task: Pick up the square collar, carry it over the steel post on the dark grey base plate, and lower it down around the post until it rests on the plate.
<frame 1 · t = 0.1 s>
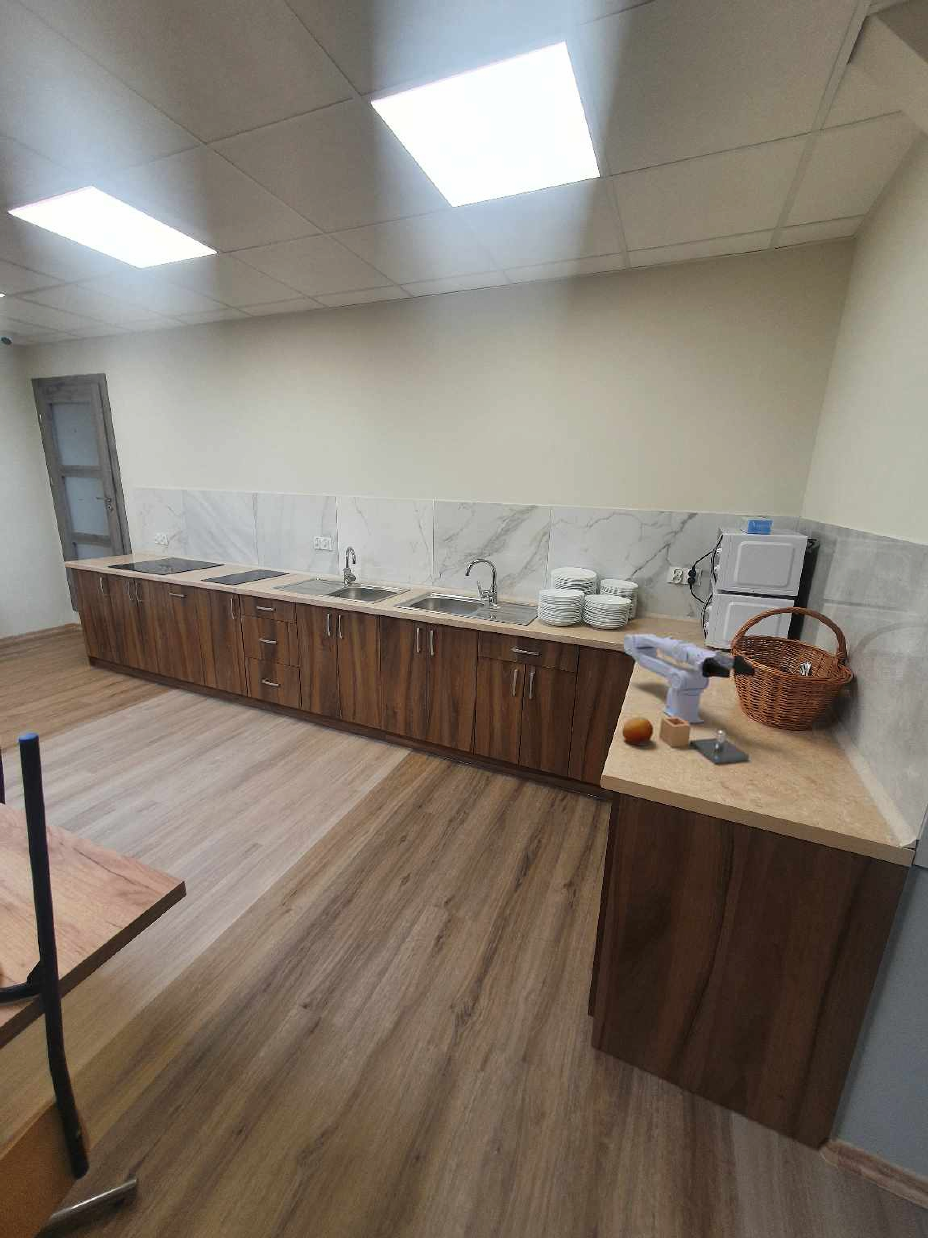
hand: (741, 673, 133), 22 cm above the countertop, tool horizontal, fingers open, 7 cm apart
post base: (718, 753, 136), on the countertop
collar: (673, 741, 141), on the countertop
fruit: (636, 741, 141), on the countertop
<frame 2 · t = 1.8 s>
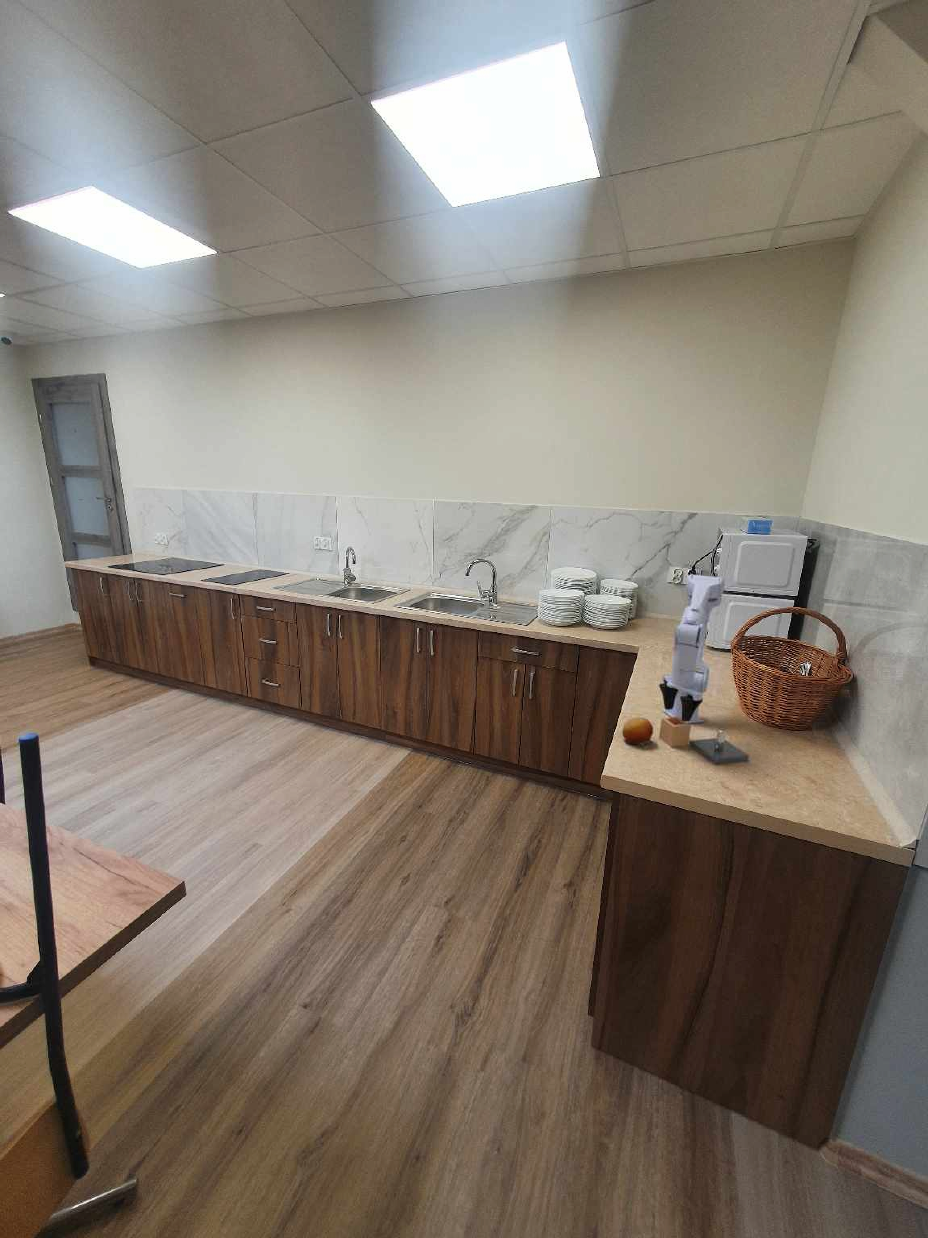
hand: (677, 714, 139), 8 cm above the countertop, tool pointing down, fingers open, 7 cm apart
nothing on the countertop moved.
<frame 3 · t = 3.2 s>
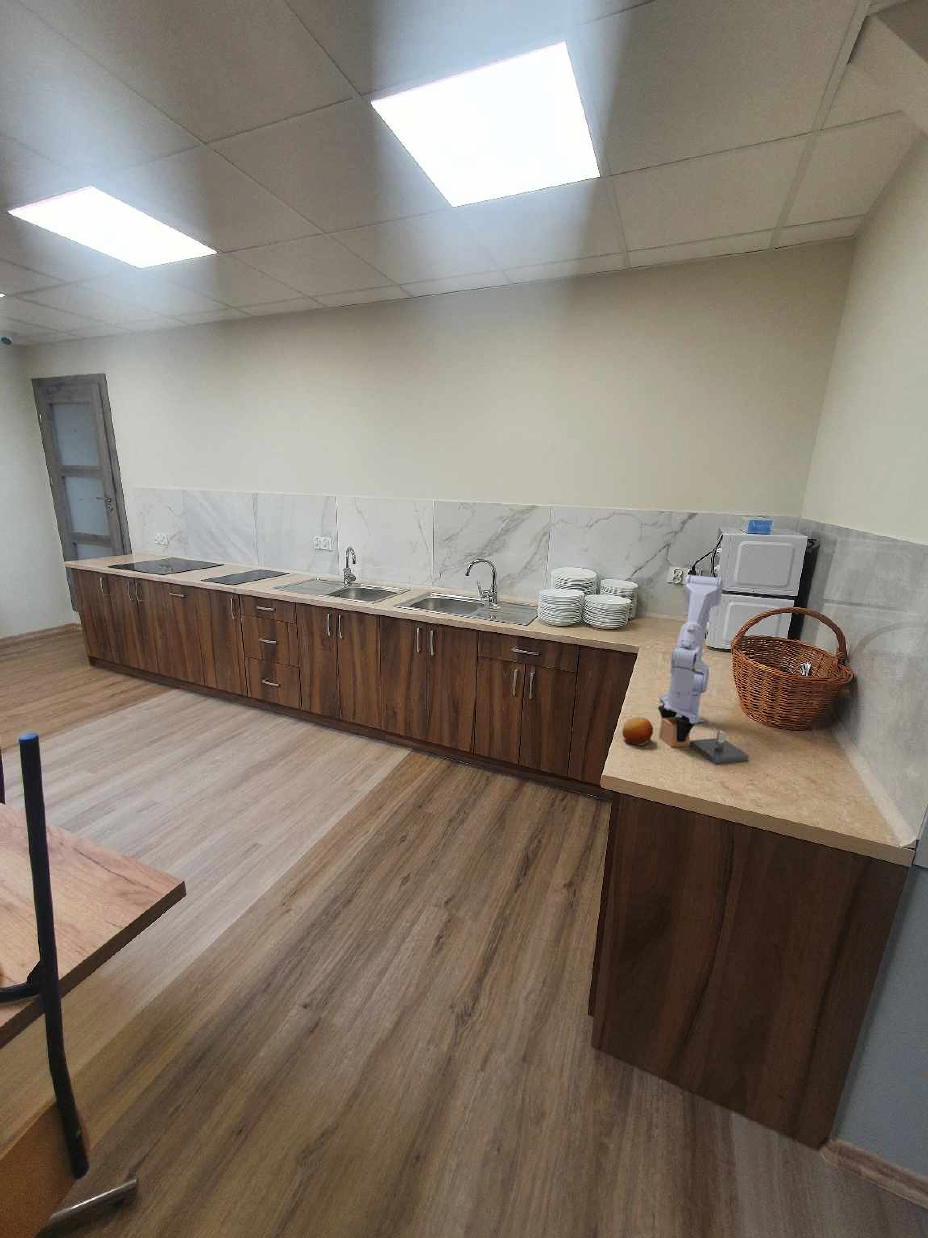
hand: (674, 736, 141), 2 cm above the countertop, tool pointing down, fingers closed on collar, 5 cm apart
collar: (673, 741, 141), on the countertop, touching gripper
everything else where it was.
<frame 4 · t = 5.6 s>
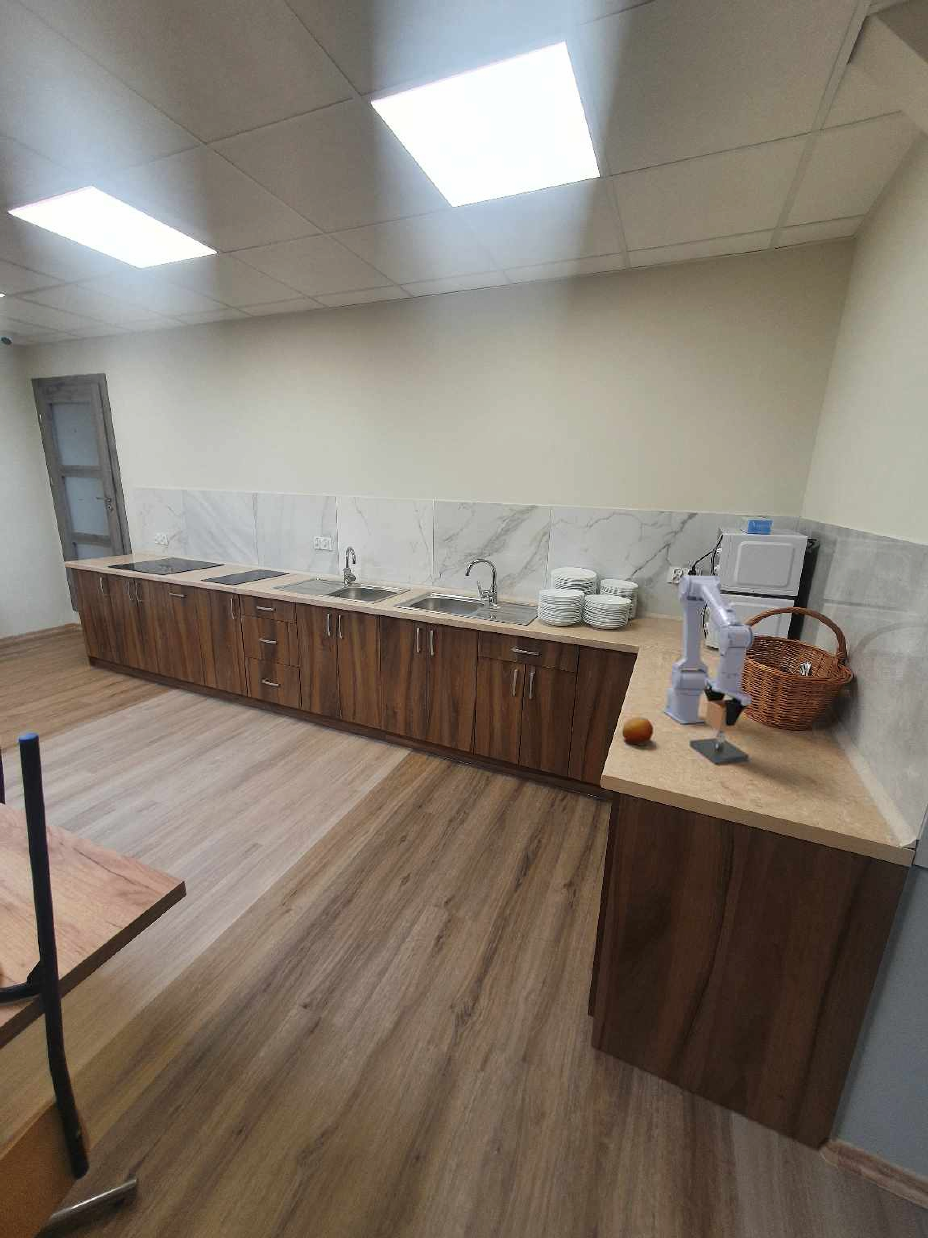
hand: (721, 720, 133), 9 cm above the countertop, tool pointing down, fingers closed on collar, 5 cm apart
collar: (720, 725, 134), point 8 cm above the countertop, touching gripper
everything else where it was.
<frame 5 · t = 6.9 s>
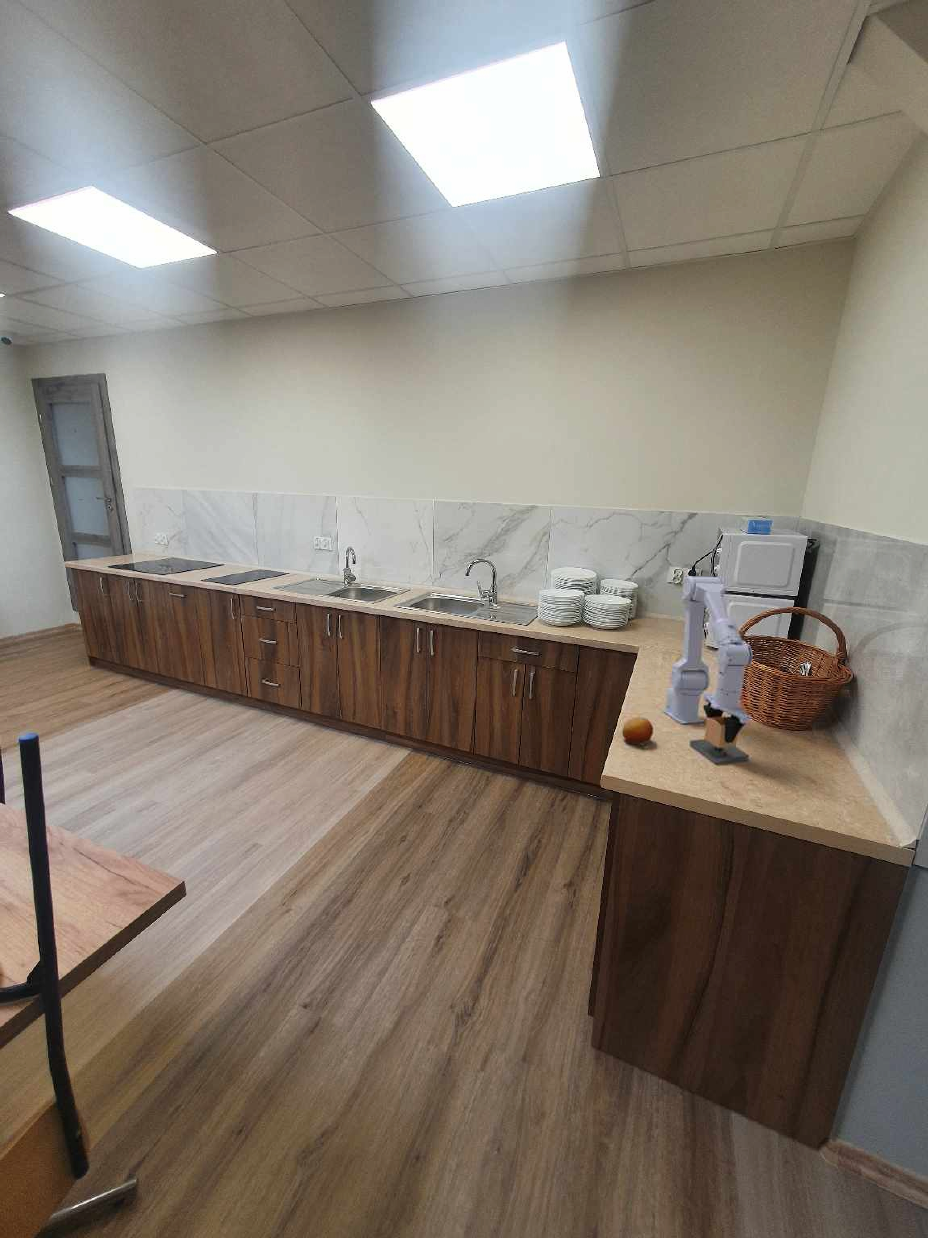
hand: (720, 736, 134), 5 cm above the countertop, tool pointing down, fingers closed on collar, 5 cm apart
collar: (719, 742, 135), point 3 cm above the countertop, touching gripper
everything else where it was.
when the fingers open (4 cm above the countertop, at t = 8.1 s): collar stays where it is, resting on post base.
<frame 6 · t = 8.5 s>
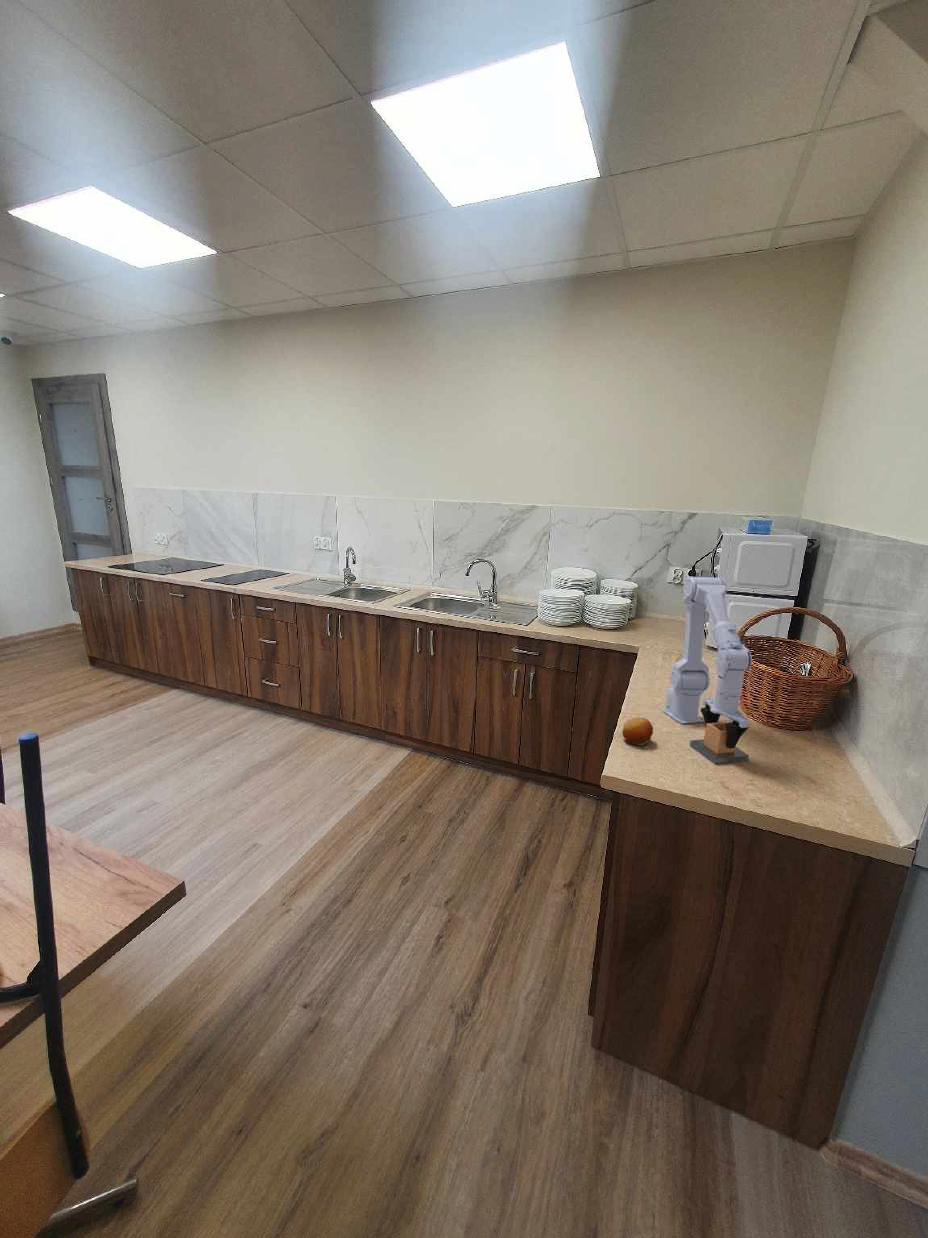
hand: (720, 740, 135), 4 cm above the countertop, tool pointing down, fingers open, 7 cm apart
collar: (718, 747, 135), point 1 cm above the countertop, touching post base
everything else where it was.
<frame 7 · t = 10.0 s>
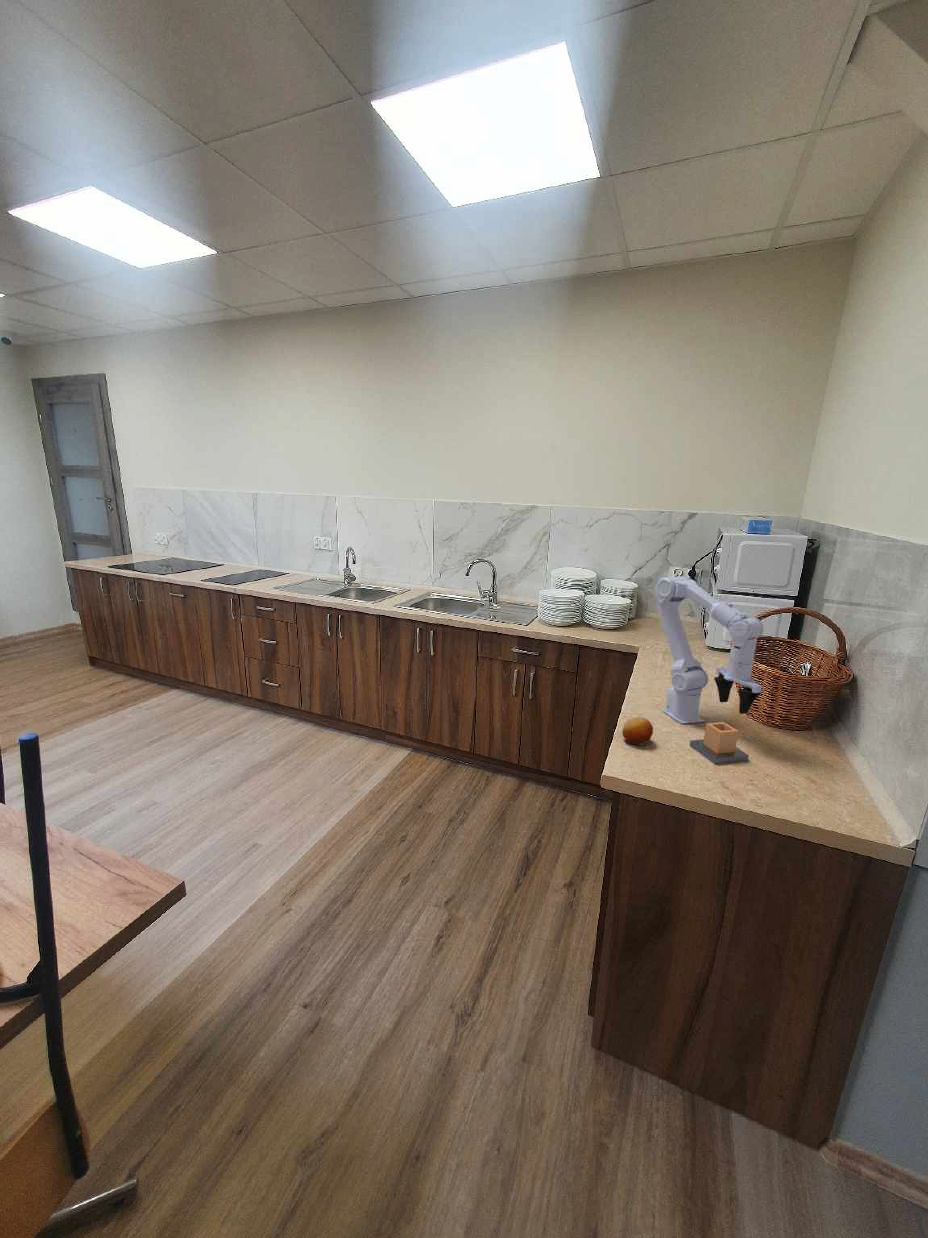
hand: (733, 707, 142), 9 cm above the countertop, tool pointing down, fingers open, 7 cm apart
nothing on the countertop moved.
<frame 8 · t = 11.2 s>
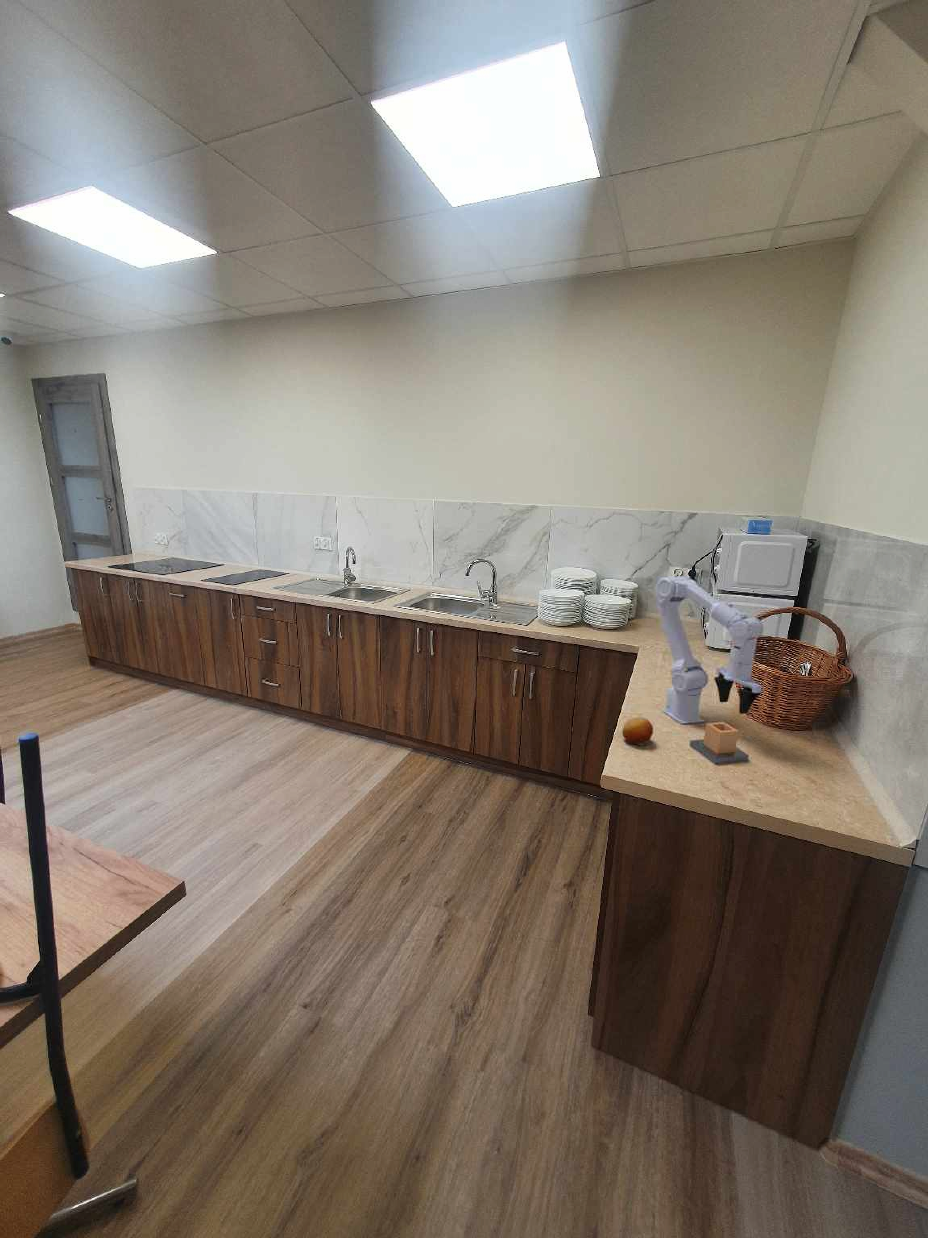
hand: (733, 707, 142), 9 cm above the countertop, tool pointing down, fingers open, 7 cm apart
nothing on the countertop moved.
at the end: collar 0.0 cm off-centre on the post base, point 1.5 cm above the post base's base; collar tilted 0°; the gripper is holding nothing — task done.
